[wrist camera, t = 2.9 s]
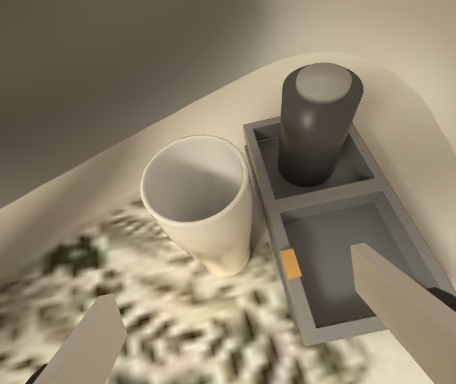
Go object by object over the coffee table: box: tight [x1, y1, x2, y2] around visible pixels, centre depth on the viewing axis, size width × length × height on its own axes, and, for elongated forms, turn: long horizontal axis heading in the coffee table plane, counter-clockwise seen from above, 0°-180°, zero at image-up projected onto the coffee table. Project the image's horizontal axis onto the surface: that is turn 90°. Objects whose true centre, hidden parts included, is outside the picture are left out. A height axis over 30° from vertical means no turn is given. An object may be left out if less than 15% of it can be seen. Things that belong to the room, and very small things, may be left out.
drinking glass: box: [140, 135, 253, 277], centre depth 22 cm, size 7×7×15 cm
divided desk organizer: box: [243, 63, 456, 346], centre depth 24 cm, size 13×24×13 cm, turn 10°
